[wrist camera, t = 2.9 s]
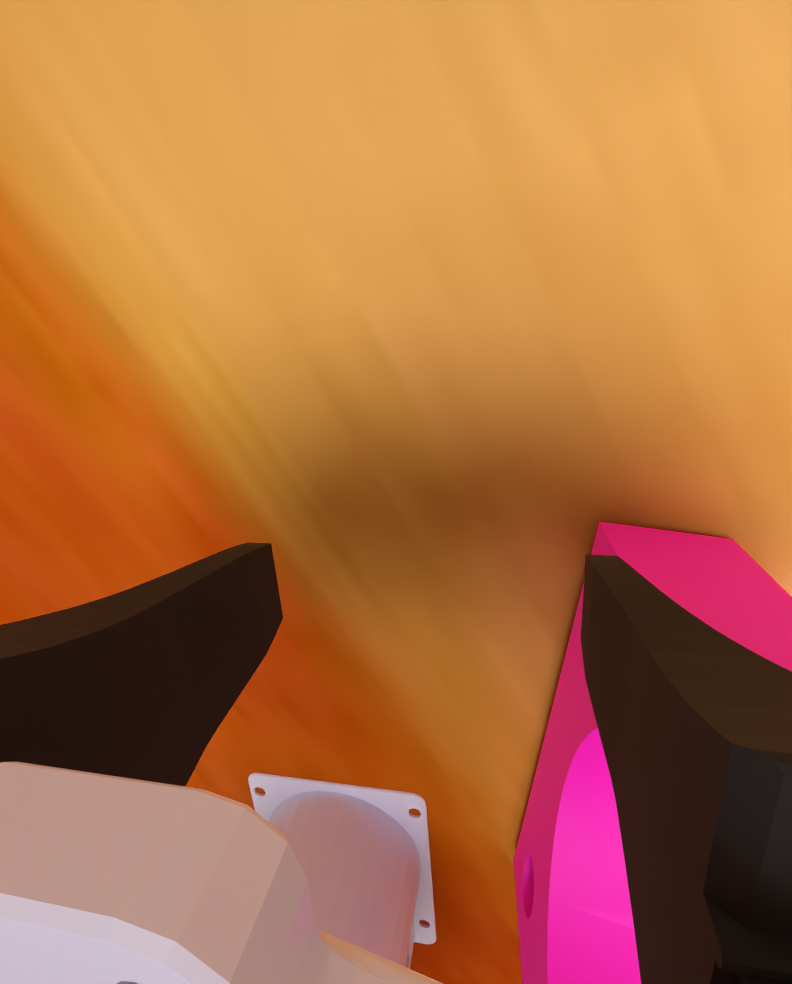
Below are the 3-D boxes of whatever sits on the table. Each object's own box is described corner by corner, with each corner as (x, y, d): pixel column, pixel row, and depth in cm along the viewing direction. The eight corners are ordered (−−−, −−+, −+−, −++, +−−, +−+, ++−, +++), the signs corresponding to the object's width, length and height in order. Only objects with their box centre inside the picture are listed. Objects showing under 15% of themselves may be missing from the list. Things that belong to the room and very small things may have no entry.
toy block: (675, 890, 21) (777, 1196, 14) (513, 859, 21) (533, 1137, 14) (824, 551, 15) (1124, 777, 8) (599, 521, 16) (699, 709, 9)
